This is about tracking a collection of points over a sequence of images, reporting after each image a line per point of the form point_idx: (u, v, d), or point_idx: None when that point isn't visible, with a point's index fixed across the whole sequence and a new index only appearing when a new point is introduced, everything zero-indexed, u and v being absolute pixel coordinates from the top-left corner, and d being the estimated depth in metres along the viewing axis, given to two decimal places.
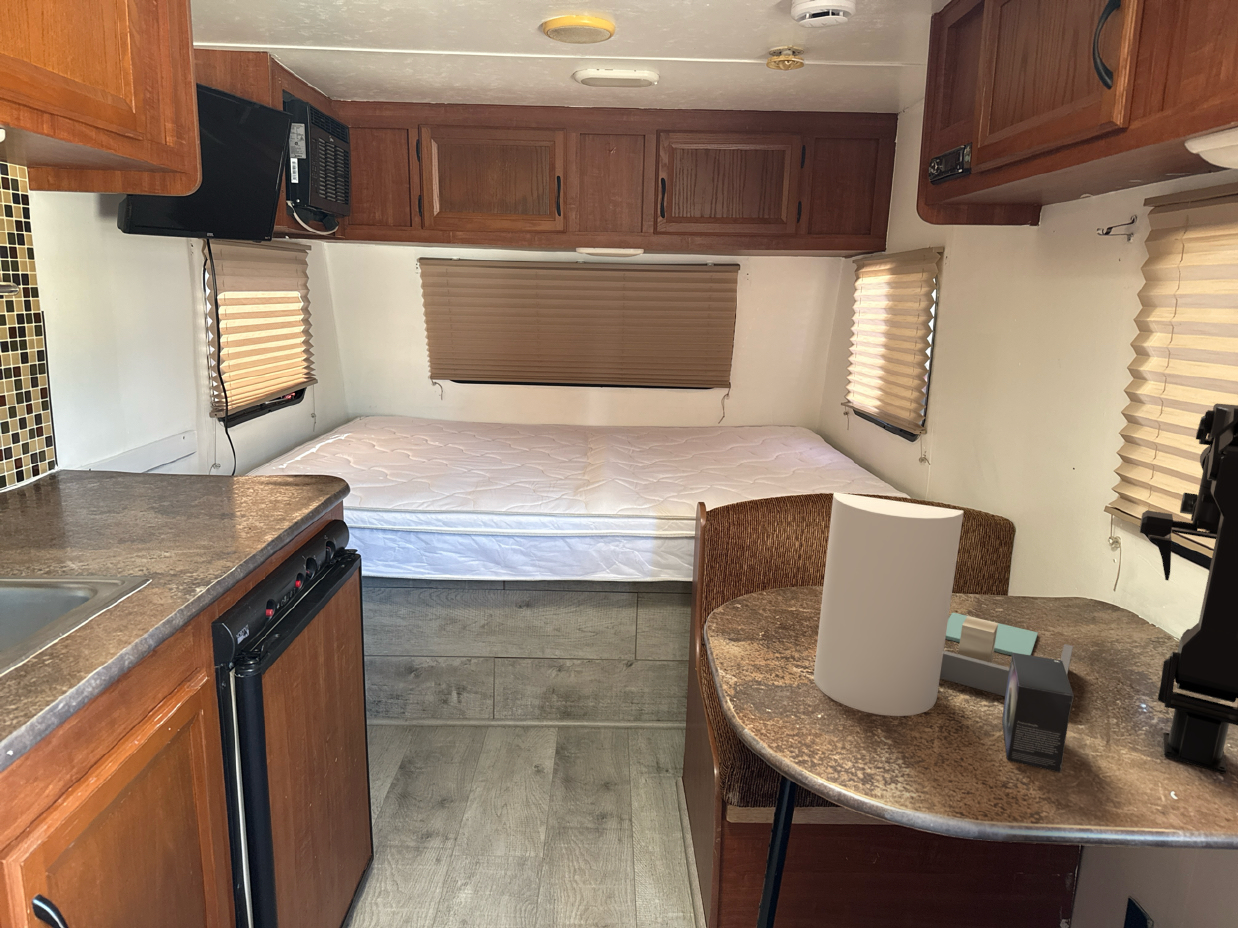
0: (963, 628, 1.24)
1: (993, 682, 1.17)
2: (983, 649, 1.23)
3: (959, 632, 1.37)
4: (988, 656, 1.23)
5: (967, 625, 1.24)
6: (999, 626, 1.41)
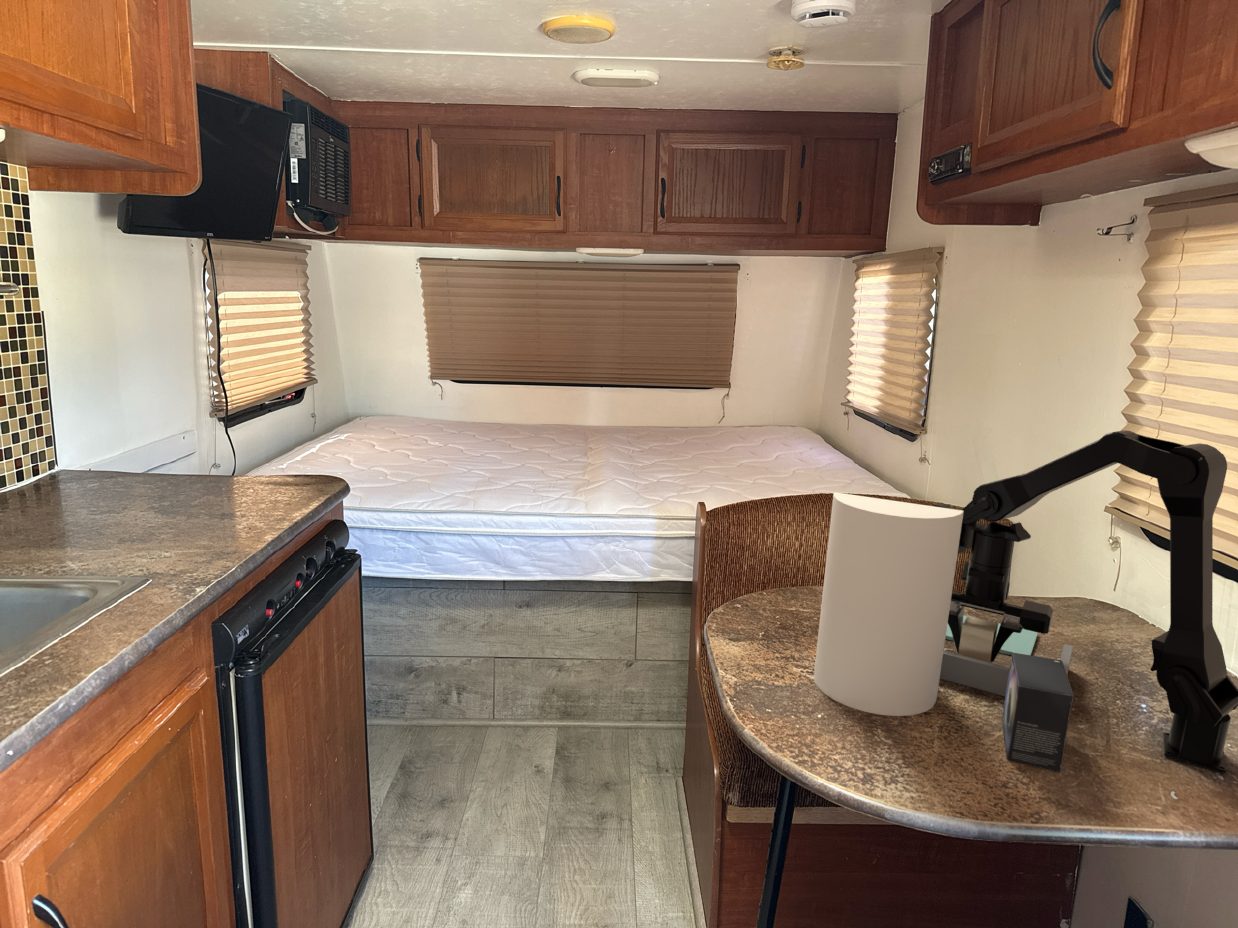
0: (963, 628, 1.24)
1: (993, 682, 1.17)
2: (983, 648, 1.23)
3: None
4: (988, 656, 1.23)
5: (968, 624, 1.24)
6: (999, 626, 1.41)
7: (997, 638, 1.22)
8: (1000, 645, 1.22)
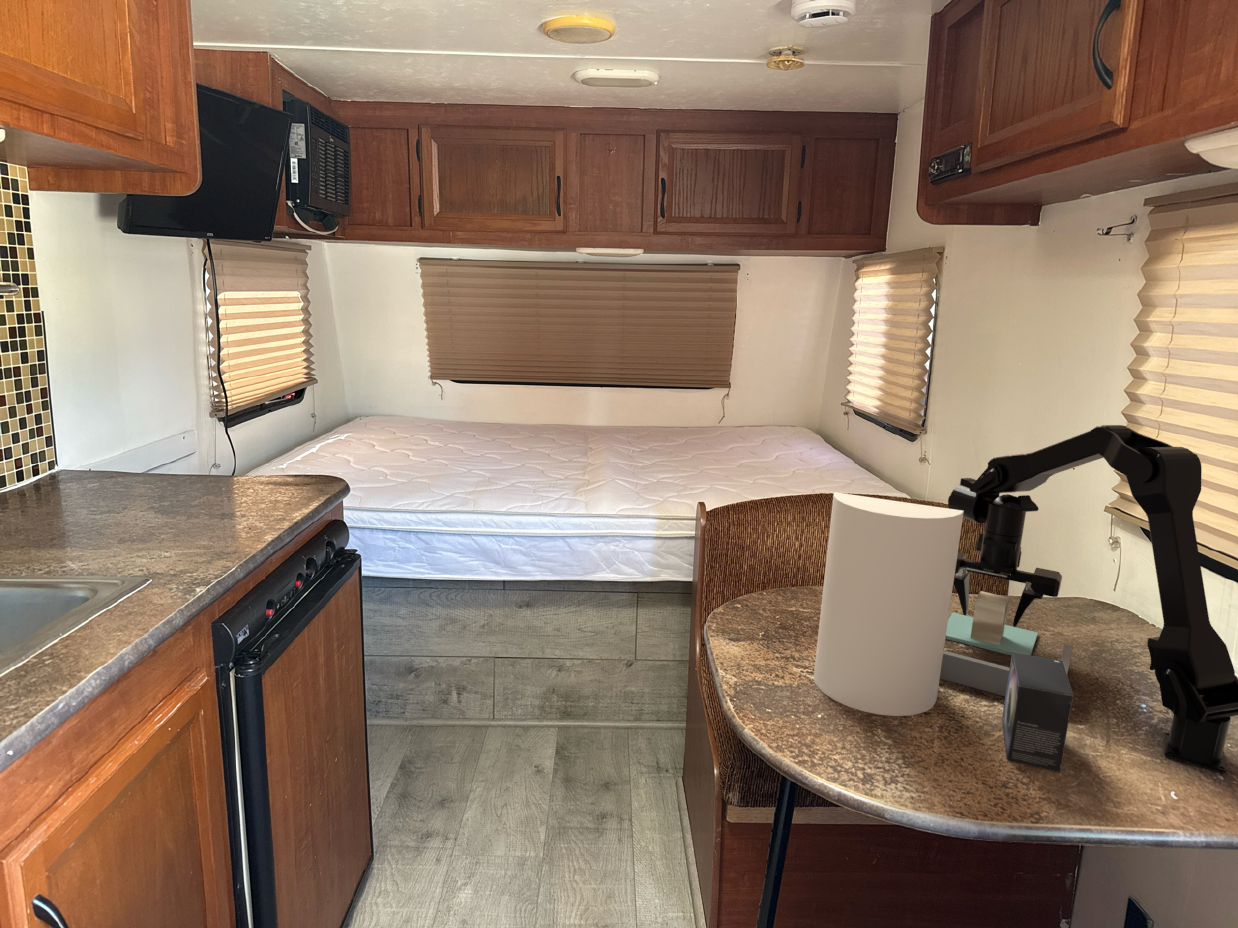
0: (977, 601, 1.34)
1: (993, 682, 1.17)
2: (995, 620, 1.33)
3: (959, 632, 1.37)
4: (1000, 627, 1.33)
5: (981, 598, 1.34)
6: None
7: (1019, 604, 1.31)
8: (1022, 611, 1.31)
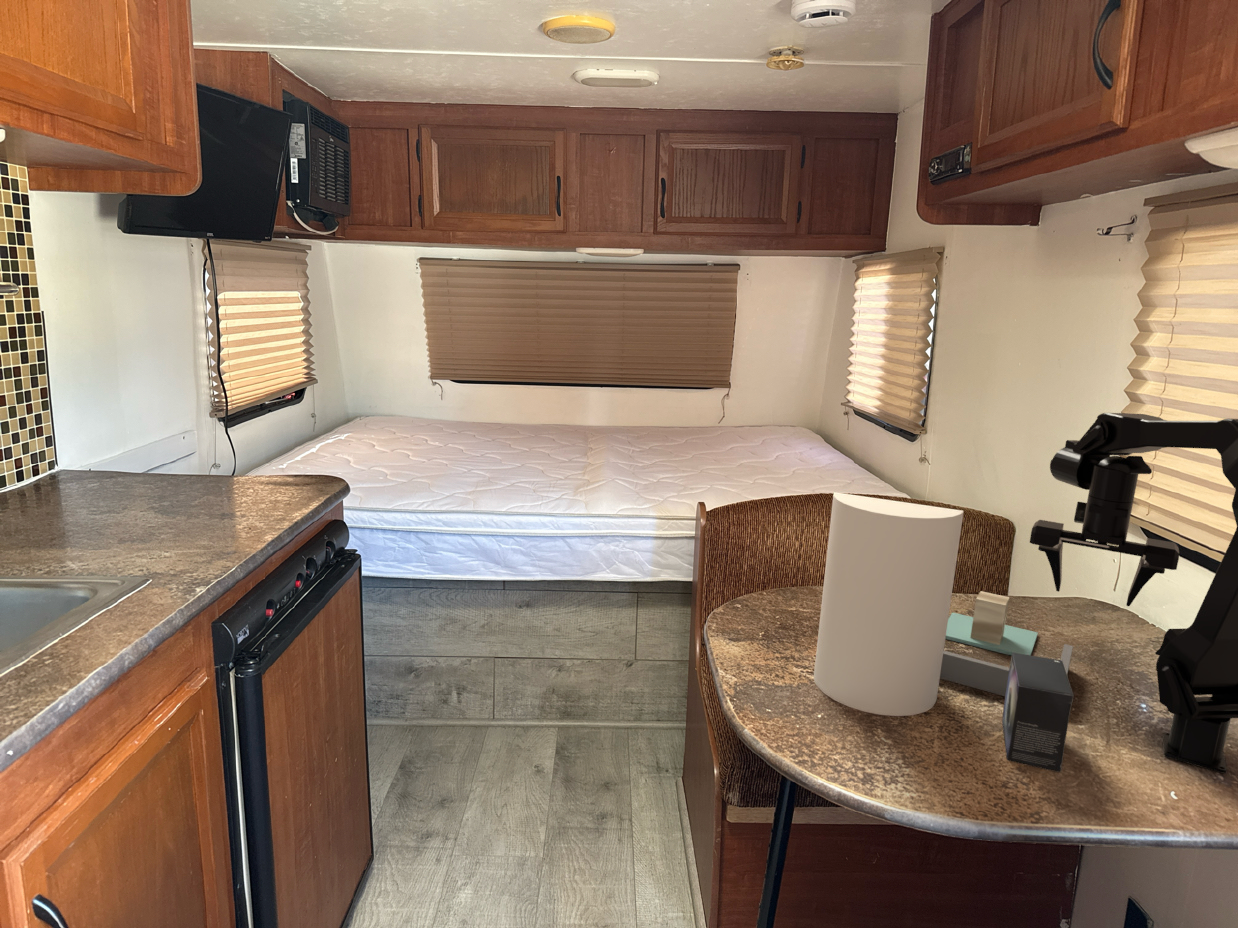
0: (977, 601, 1.34)
1: (993, 682, 1.17)
2: (995, 620, 1.33)
3: (959, 632, 1.37)
4: (1000, 627, 1.33)
5: (981, 598, 1.34)
6: None
7: (1136, 580, 1.16)
8: (1139, 588, 1.16)
